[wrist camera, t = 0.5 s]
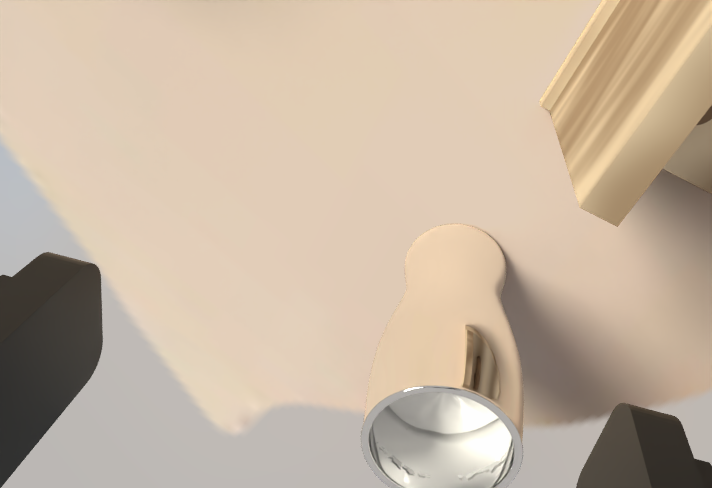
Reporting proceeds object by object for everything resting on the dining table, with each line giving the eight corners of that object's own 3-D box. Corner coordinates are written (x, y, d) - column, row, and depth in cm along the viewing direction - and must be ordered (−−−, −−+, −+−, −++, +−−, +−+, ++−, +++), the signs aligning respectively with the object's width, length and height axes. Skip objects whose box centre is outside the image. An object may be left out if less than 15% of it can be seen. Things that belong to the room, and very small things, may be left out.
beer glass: (379, 237, 39) (326, 405, 26) (489, 199, 37) (491, 363, 24) (424, 328, 42) (396, 522, 29) (529, 297, 39) (552, 494, 26)
